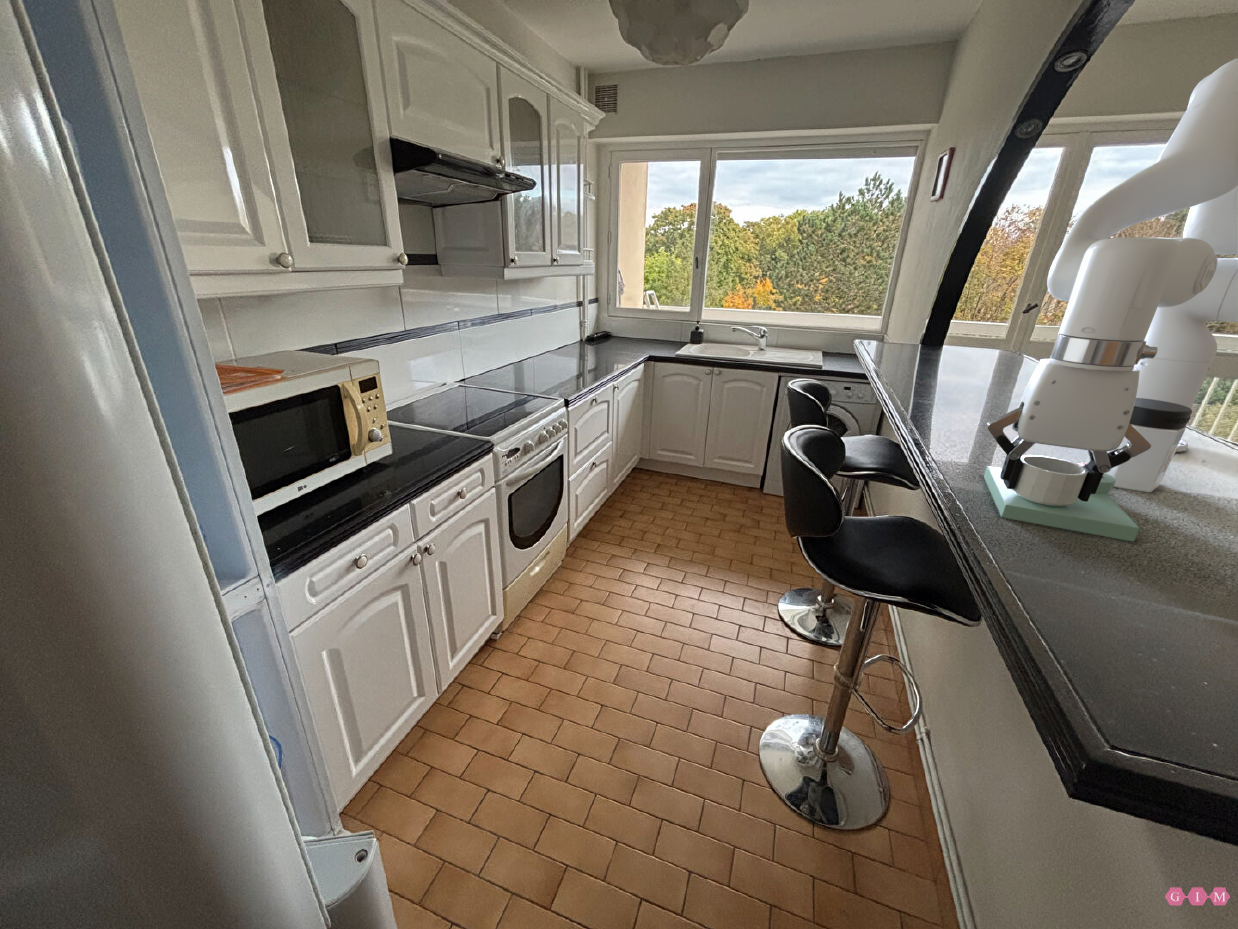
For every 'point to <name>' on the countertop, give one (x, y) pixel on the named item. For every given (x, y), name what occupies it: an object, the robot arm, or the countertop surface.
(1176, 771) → the countertop surface
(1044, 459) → the bowl
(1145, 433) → the jar
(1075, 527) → the scale
